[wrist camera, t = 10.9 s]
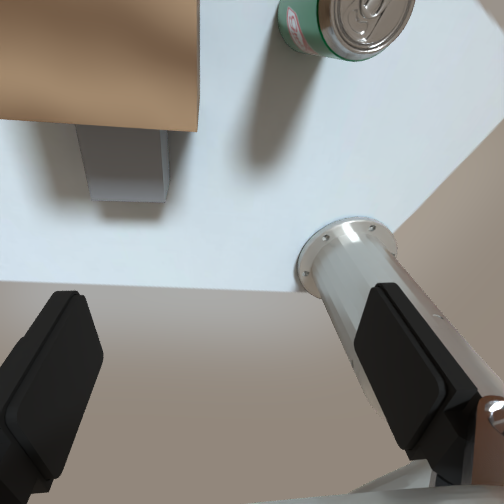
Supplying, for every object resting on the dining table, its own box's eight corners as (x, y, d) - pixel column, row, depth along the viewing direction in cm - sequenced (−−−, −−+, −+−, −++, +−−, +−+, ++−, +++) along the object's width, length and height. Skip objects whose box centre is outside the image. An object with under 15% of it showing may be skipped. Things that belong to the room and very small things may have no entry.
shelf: (199, 98, 27) (197, 131, 18) (50, 86, 25) (-39, 116, 16) (199, -31, 22) (196, -77, 13) (16, -57, 21) (-140, -134, 11)
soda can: (263, 23, 25) (301, 15, 15) (305, -46, 23) (380, -107, 13) (309, 66, 27) (368, 84, 17) (350, 7, 25) (445, -11, 15)
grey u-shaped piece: (170, 180, 31) (164, 202, 27) (106, 178, 30) (91, 200, 26) (159, 3, 23) (150, -4, 19) (73, -8, 22) (44, -18, 18)
